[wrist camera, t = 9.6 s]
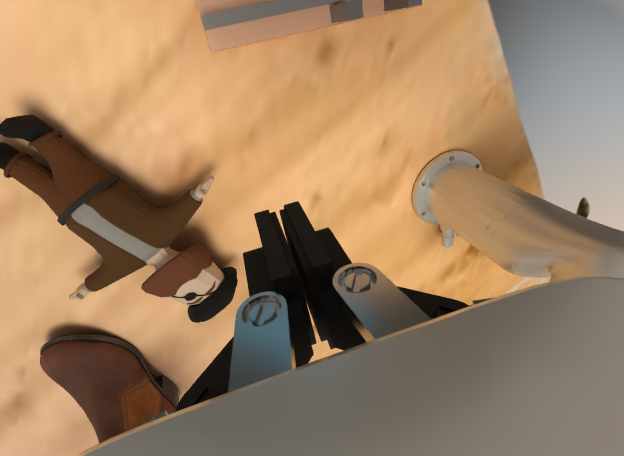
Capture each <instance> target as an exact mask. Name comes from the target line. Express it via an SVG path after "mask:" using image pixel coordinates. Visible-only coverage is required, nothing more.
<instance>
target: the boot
mask: <svg viewBox="0 0 624 456" xmlns="http://www.w3.org/2000/svg"><path fill="white" fill-rule="evenodd" d="M40 355H41V357H40V365H41V367H42V369H43V370H44V372H45V373H46V374H47V375H48V376H49V377H50V378H51V379H52V380H54V381H55V382H56V383H57V384H59V385H60V386H61V387H63V388H64V389H65V390H66V391H67V392H68V393H69V394H70V395H71V396H72V397H73V398H74V399H75V400H76V402H77V403H78V404H79V405H80V406H81V408H82V409H83V410H84V412H85V413H86V415H87V417H88V418H89V420H90V422H91V423H92V425H93V427H94V429H95V432H96V434H97V437H98V440H99V444H100V443H102V442H104V441H106V440H108V439H110V438H112V437H114V436H117V435H119V434H122V433H124V432H126V431H129V430H131V429H133V428H135V427H137V426H139V425H140V424H142V423H144V422H146V421H147V420H149V419H151V418H153V417H154V416H156V415H158V414H160V413H161V412H163V411H166V412H167V413H168V414H169V413H170V412H172V411H174V410H175V409H176V407H177V404H178V403H179V395H178V388H177V387H176V385H175V384H174V383H173V382H172V381H170V380H169V379H168V378H166V377H165V376H163V375H162V376H161V377H159V378H157V379H155V380H154V378H153V377H152V375H151V374H150V372H149V370H148V368H147V366H146V364H145V362H144V360H143V358H142V356H141V354H140V353H139V351H138V350H137V349H136V348H135V347H134V346H132V345H131V344H129V343H127V342H125V341H122V340H120V339H117V338H114V337H109V336H104V335H94V334H75V335H67V336H62V337H59V338H56V339H53V340H51V341H49V342H47V343H46V344H44V345H43V346H42V348H41V351H40Z"/></svg>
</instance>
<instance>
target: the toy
mask: <svg viewBox="0 0 624 456" xmlns="http://www.w3.org/2000/svg"><path fill="white" fill-rule="evenodd" d="M0 134H1V135H3V136H5V137H9V138H19V139H25V140H27V141H29V142H30V143H28V145H29V146H34V147H35V148H36V149H37V150H38V151H39V152H40V154H41V155H42V156H43V157H44V159H45V160H46V161H47V163H48V164H49V166H50V168H51V169H50V168H48V167H46V166H44V165H42V164H40V163H39V162H37V161H35V160H33V157H32V156H30V155H28V154H26V153H21V152H20V151H18V150H17V149H15V148H14V147H12V146H11V145H9V144H7V143H2V142H0V168H1V169H3V170H4V176H5V177H7V178H10V177H13V178H14V179H16V180H17V181H19V182H20V183H21V184H23V185H24V186H26V187H27V188H29V189H30V190H31V191H33V192H34V193H36V194H37V195H39V196H40V197H41V198H42V199H43V200H44V201H45V202H46V203H47V204H48V206H49V207H50V208H51V209H52V210H53V211H54V213H55V214H56V215H57V216H58V217H59V218H58V220H57V221H58V222H59V223H60V224H61V225H62V226H63V225H65V224H66V225H67V227H68V228H69V229H70V230H71V231H73V232H74V233H75V234H77V235H78V236H79V237H81V238H82V239H83V240H85V241H86V242H87V243H89V244H90V245H91V246H93V247H94V248H95V249H96V251H97V252H98V253H99V254H100V255H101V256H102V257H103V263H102V264H101V266H100V267H99V268H98V269H97V270H96V271H95V272H93V273H92V274H90V275H89V276H88V277H87V278H86V279H85V283H82V284H81V285H80V286H79V287H78V288H77V290H76V291H75V292H74V293H72V294H71V295H70V296H69V300H72V299H75V298H77V299H78V300H82V299H83V298H84V297H85V296H86V295H87V294H88V293H89V292H92V291H94V292H95V291H98V290H100V289H102V288H104V287H106V286H108V285H110V284H112V283H114V282H115V281H117V280H119V279H121V278H123V277H125V276H127V275H129V274H131V273H133V272H134V271H136V270H138V269H140V268H142V267H144V266H146V265H147V264H151V265H153V266H155V268H156V269H157V271H155V272H154V273H153V274H152V275H151V276H150V277H149V278H148V279H147V280H146V281H145V282H144V283H143V284H142V287H141V288H142V289H143V290H144V291H145V292H146V293H149V294H153V295H156V296H159V297H171V298H172V299H173V300H176V301H179V302H181V303H184V304H187V305H189V308H188V315H189V318H190V320H191V321H192V322H198V323H199V322H204V321H207V320H209V319H211V318H212V317H214V316H215V315H216V314H218V313H219V312H220V311H221V310H223V309H224V308H225V307H226V306H227V305H228V304H229V303H230V302H231V301H232V299H233V296H234V293H235V289H236V286H237V281H238V280H237V272H236V269H235V268H233V267H227V268H223V269H221V270H220V269H219V268H218V267H217V265H216V264H215V263H214V262H213V261H212V258H211V255H210V254H209V253H208V251H207V250H206V249H205V248H204V247H203V246H202V245H201V244H199V243H194V244H192V245H190V246H189V247H188V248H186V249H185V250H183V251H179V252H178V251H175V250H172V249H171V248H170V247H169V246H170V245H171V243H172V242H173V241H174V240H175V238H176V237H177V236H178V234H179V233H180V232H181V230H182V229H183V228H184V226H185V225H186V224H187V222H188V221H189V220H190V219H191V217H192V216H193V215H194V213H195V212H196V211H197V209H198V208H199V207H200V205H201V203H202V201H203V200H202V197H204V196H205V195H206V193H207V191H208V189H209V187H210V185H211V184H212V182H213V180H214V177H213V176H211V177H209V178H208V179H207V180H206V181H205V182H204V183H201V184H199V185H198V186H197V188H196V189H195V190H189V191H188V192H187V193H186V194H185V195H184V196H183V197H182V198H181V199H179V200H178V201H177V202H176V203H174V204H172V205H170V206H169V207H165V208H157V207H154V206H151V205H149V204H147V203H146V202H145V201H143V200H142V199H141V198H139V197H138V196H137V195H136V194H135V193H134V192H133V191H132V190H130V189H129V188H128V187H127V186H126V185H125V184H124V183H123V182H121V181H119V180H118V179H119V178H120V177H119V176H117V175H115V174H114V175H113V176H112V175H110V174H108V173H107V172H105V171H103V170H102V169H100V168H99V167H97V166H96V165H94V164H93V163H91V162H90V161H88V160H87V159H86V158H85V157H83V156H82V155H81V154H80V153H79V152H77V151H76V150H75V149H74V148H73V147H72V146H70V145H69V144H68V143H67V142H66V141H65V140H63V139H62V138H61V137H62V135H63V134H61V133H60V132H55V131H54V130H53V128H52V127H50V126H49V125H48V124H46V123H45V122H44V121H43V120H41V119H39V118H38V117H36V116H34V115H25V116H17V117H11V118H6V119H5V120H4V121H3V122H2V123H1V124H0Z"/></svg>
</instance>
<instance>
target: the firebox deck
mask: <svg viewBox="0 0 624 456" xmlns="http://www.w3.org/2000/svg"><path fill="white" fill-rule="evenodd" d="M196 4H197V7H198V10H199V13H200V16H201V20H202V23H203V26H204V29H205V33H206V36H207V39H208V42H209V45H210V49H211V52H215V51H220V50H224V49H229V48H233V47H238V46H242V45H247V44H251V43H256V42H260V41H265V40H269V39H273V38H278V37H282V36H287V35H291V34H296V33H300V32H305V31H309V30H314V29H318V28H323V27H327V26H331V25H336V24H340V23H345V22H349V21H354V20H358V19H363V18H367V17H372V16H376V15H381V14H385V13H389V12H394V11H398V10H403V9H407V8H412V7H416V6H421V5H422V0H196Z"/></svg>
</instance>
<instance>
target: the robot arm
mask: <svg viewBox="0 0 624 456" xmlns="http://www.w3.org/2000/svg"><path fill="white" fill-rule="evenodd" d="M412 203H413V207H414V210H415V212H416V213H417V215H418V216H419V217H420V218H422V219H423V220H424V221H426V222H428V223H431V224H439V225H440V229H441V231H442V238H441V244H442V245H443V246H445V247H450V246H452V245H453V239H454V235H453V232H455V233H456V234H457V235H458V236H461V237H462V238H463V239H465V240H466V241H467V242H469V243H470V244H471V245H472V246H474V247H475V248H476V249H478V250H479V251H480V252H482V253H483V254H484V255H485V256H487V257H488V258H489V259H491V260H492V261H493V262H495V263H496V264H497V265H499V266H500V267H501V268H503V269H504V270H506V271H508V272H510V273H512V274H515V275H518V276H523V277H536V278H542V277H551V279H550V281H549V282H548V283H543V284H539V285H534V286H531V287H528V288H525V289H521V290H518V291H515V292H511V293H508V294H505V295H502V296H499V297H496V298H489V299H482V300H475V301H472V305H469V306H468V305H467V304H465V303H463V302H460V301H457V300H454V299H450V298H445V297H441V296H437V295H432V294H428V293H424V292H419V291H415V290H411V289H406V288H402V287H398V286H396V285H395V284H393V283H392V282H391V281H390V280H389V279H388V278H387V277H386V276H385V275H384V274H383V273H382V272H381V271H380V270H379V269H377V268H376V267H374V266H372V265H370V264H367V263H352V262H351V261H350V259H349V258H348V256H347V255H346V253H345V252H344V250H343V249H342V247H341V245H340V244H339V242H338V241H337V239H336V238H335V236H334V235H333V233H332V232H331V230H330V229H329V228H325V229H321V230H318V231H315V230H314V228H313V227H312V225H311V223H310V221H309V219H308V218H307V216H306V214H305V212H304V211H303V209H302V207H301V205H300V203H299V202H298V201H297V202H293V203H290V204H286V205H284V209H283V210H279V211H280V215H281V219H282V223H283V227H284V231H285V235H286V238H287V241H286V238H285V236H284V233H283V231H282V228H281V226H280V223H279V220H278V218H277V215H276V213H275V212H272V213H269V210H265V211H262V212H258V213H255V214H254V215H255V219H256V223H257V227H258V231H259V234H260V238H261V242H262V246H263V247H261V248H258V249H255V250H251V251H248V252H245V253H243V257H244V264H245V270H246V276H247V282H248V289H249V295H250V297H249V298H248V299H246V300H245V301H244V302H243V303H242V304H241V305H240V307H239V308H238V310H237V314H236V320H235V330H234V337H233V338H232V339H231V340H230V341H229V342H228V344H227V345H226V346H225V347H224V348H223V350H222V351H221V352H220V353H219V354H218V355H217V357H216V358H215V359H214V360H213V361H212V363H211V364H210V365H209V366H208V367H207V368H206V370H205V371H204V372H203V373H202V374H201V376H200V377H199V378H198V379H197V380H196V381H195V383H194V384H193V385H192V386H191V387H190V389H189V390H188V391H187V392H186V393H185V394H184V396H183V397H182V399H181V400H180V402H179V403H178V404H177V407H176V409H175V410H174V411H172V412H170V413H169V414H168V413H167V412H166V411H163V412H161V413H160V414H158V415H156V416H154V417H153V418H151V419H149V420H147V421H146V422H144V423H142V424H140V425H139V426H137V427H135V428H133V429H131V430H129V431H126V432H124V433H122V434H119V435H117V436H114V437H112V438H110V439H108V440H106V441H104V442H102V443H100V444H98V445H96V446H94V447H91V448H89V449H87V450H85V451H84V452H82V453H80V454H78V455H77V456H624V231H620V230H617V229H614V228H611V227H608V226H605V225H602V224H599V223H597V222H594V221H591V220H589V219H586V218H584V217H582V216H579V215H577V214H574V213H572V212H570V211H567V210H565V209H563V208H561V207H559V206H556V205H554V204H552V203H550V202H547V201H546V200H543V199H541V198H539V197H537V196H535V195H533V194H531V193H528V192H526V191H524V190H522V189H520V188H518V187H516V186H514V185H511V184H509V183H507V182H505V181H503V180H501V179H499V178H497V177H494V176H492V175H490V174H488V173H486V172H484V171H483V167H482V165H481V163H480V161H479V160H478V158H477V157H475V156H474V155H473V154H471V153H468V152H466V151H461V150H455V151H450V152H446V153H444V154H442V155H439V156H438V157H436V158H435V159H433V160H432V161H431V162H430V163H429V164H428V165H427V166H426V167H425V168H424V169H423V170H422V172H421V173H420V175H419V177H418V178H417V180H416V183H415V185H414V189H413V193H412ZM287 242H288V244H287ZM306 302H307V303H306ZM307 305H308V307H309V310H310V313H311V315H312V318H313V321H314V323H315V326H316V329H317V331H318V334H319V337H320V339H321V341H325V340H327V341H328V343H329V346H330V348H331V349H333V348H338V349H341V350H344V351H342V352H339V353H336V354H333V355H330V356H328V357H325V358H322V359H319V360H317V361H314V362H311V363H308V362H309V361H310V359H311V357H312V356H313V354H314V353H313V349H312V346H311V345H313V344H316V339H315V335H314V331H313V327H312V323H311V319H310V315H309V311H308V307H307Z"/></svg>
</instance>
